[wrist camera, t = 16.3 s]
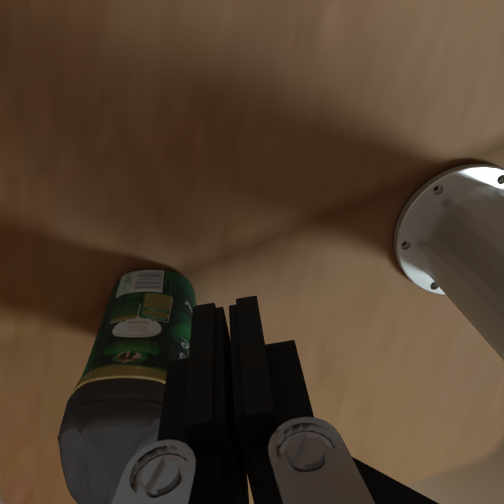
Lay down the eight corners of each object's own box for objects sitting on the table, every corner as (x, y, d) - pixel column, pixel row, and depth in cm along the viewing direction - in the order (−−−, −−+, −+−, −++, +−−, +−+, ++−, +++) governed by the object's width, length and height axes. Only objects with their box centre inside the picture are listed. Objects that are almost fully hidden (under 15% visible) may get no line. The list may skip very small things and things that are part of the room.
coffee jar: (198, 349, 45) (189, 534, 29) (118, 350, 45) (60, 539, 28) (198, 264, 41) (187, 422, 24) (110, 263, 40) (35, 425, 24)
